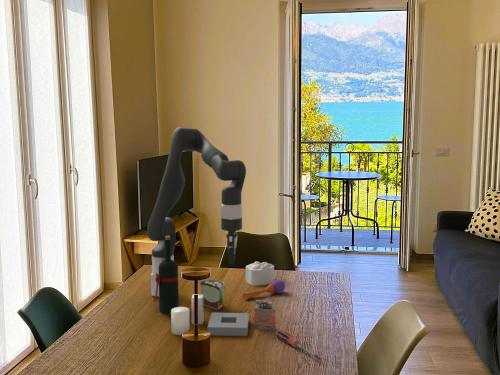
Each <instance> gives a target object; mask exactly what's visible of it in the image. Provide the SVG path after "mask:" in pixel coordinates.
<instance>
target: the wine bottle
mask: <svg viewBox="0 0 500 375" xmlns="http://www.w3.org/2000/svg"><path fill="white" fill-rule="evenodd" d="M155 281H156V283H157V284H156V295H155V296H154V297H153V301H152V302H154V303H155V302H156V301H157V298H158V311H159V314H160V313H161V314H164V315H171V310H172V309H173V308H176V307H180V305H179V304H180V302H179V300H180V299H179V298H180V297H179V294H180V293H179V266H178V264H177V262H176V261H175V260H174V261H173V260H171V239H170V236H165V260H164V261H162V262H161V263H160V264H159V275H158V274H157V273H156V277H155ZM158 284H159V297H157V293H158Z"/></svg>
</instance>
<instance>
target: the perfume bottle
mask: <svg viewBox="0 0 500 375" xmlns="http://www.w3.org/2000/svg"><path fill="white" fill-rule="evenodd" d="M253 312H254V316H253V317H254V318H253V320H254V322H253V323H254V324H253V327H254V328H255V329H260V330H267V331H268V330H269V331H274V330H276V308H275V307H274V306H273V302H272V301H268V300H264V301H263V300H258V299H256V300H255V305H254V306H253Z"/></svg>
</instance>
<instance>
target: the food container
mask: <svg viewBox="0 0 500 375" xmlns="http://www.w3.org/2000/svg"><path fill="white" fill-rule="evenodd" d="M199 285H200V288H201V290H200V291H201V295H204V306H205V307H207V308H209V309H210V308H211V309H214V310H216V311H220V310H221V309H222V308H223V305H224V304H223V301H224V293H225V292H224V291H225V290H226V284H225V282H224V281H223V280H220V279H214V278H211V279H210V278H207V279H202V280H201V279H200V282H199Z"/></svg>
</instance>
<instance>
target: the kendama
mask: <svg viewBox="0 0 500 375" xmlns="http://www.w3.org/2000/svg"><path fill="white" fill-rule="evenodd" d="M285 286H286V285H285V282H284V281H283V280H281V279H274V281H273V282H272V283H270V284H267V286H266V287H265V288H263V289H258V290H252V291H245V292H243V293H242V297H243V298H242V299H243V300H245V301H248V300H249V299H252V298H255V297H256V296H260V295H261V294H263V293H270V294H282V293H283V292H284V291H285V288H286V287H285Z"/></svg>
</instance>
